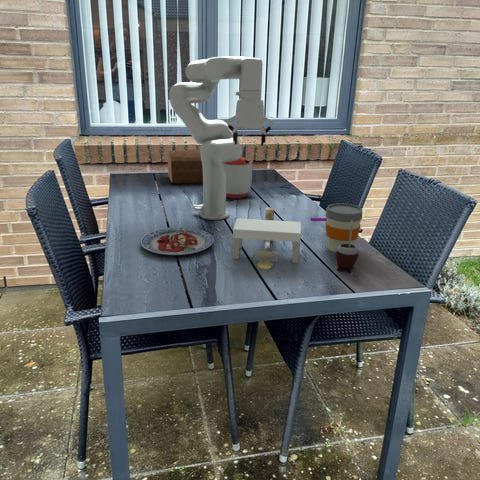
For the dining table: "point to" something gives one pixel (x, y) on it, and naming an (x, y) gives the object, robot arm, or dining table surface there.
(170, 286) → the dining table surface
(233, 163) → the citrus juicer
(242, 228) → the white bench
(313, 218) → the squeegee
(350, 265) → the mate gourd
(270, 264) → the brass token
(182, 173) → the bread
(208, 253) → the dining table surface
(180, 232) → the ceramic plate
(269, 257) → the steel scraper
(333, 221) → the reusable coffee cup
